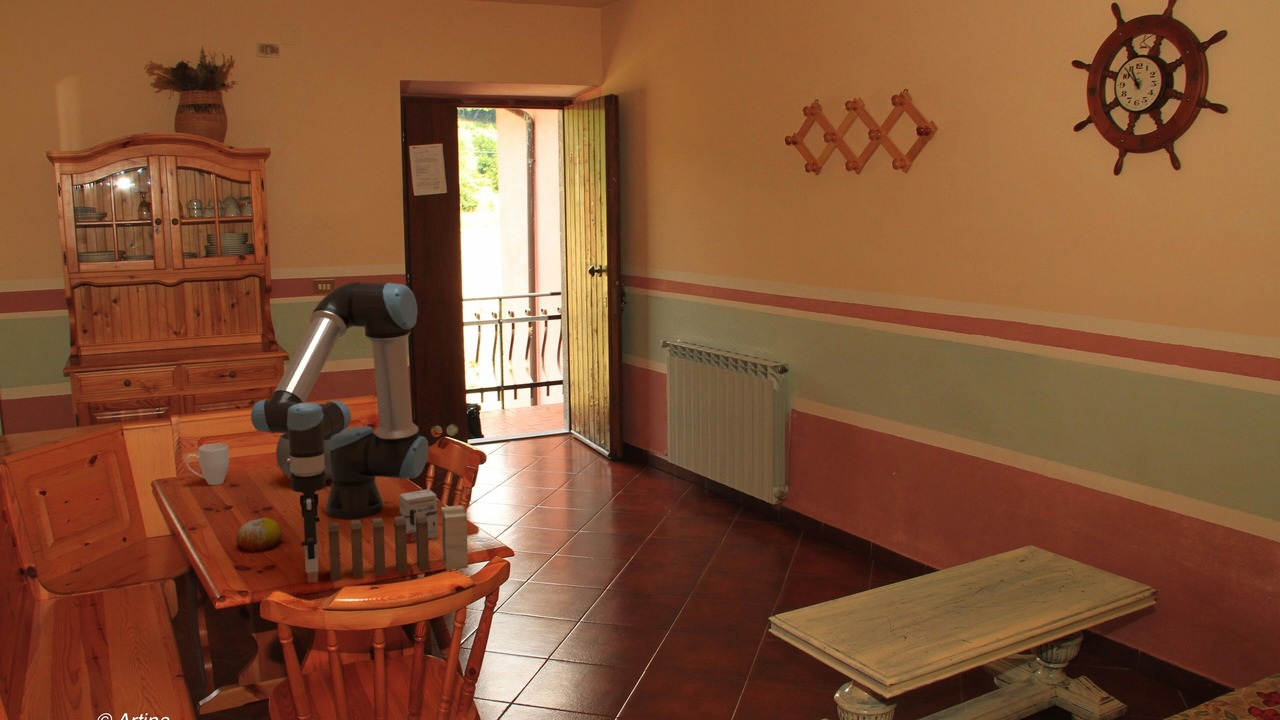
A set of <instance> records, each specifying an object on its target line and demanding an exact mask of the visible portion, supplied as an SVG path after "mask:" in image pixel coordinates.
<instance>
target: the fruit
mask: <svg viewBox="0 0 1280 720" xmlns="http://www.w3.org/2000/svg"><path fill="white" fill-rule="evenodd" d="M282 538H283V533H282V529H281V525H279V523H278V522H277V521H275V520H274V519H273V518H270V517H265V516H264V517H260V518H257V519H251V520H248V521H247V522H246V523H245V524H242V525H241V526H240V528H239V529H238V531H237V532H236V537H235V539H236V542H237V546H239V547H241V548H242V550H243V551H247V552H251V553H252V552H264V551H268V550H271V549H274V548H275V547H277V546H279V545H280V544H281V542H282Z"/></svg>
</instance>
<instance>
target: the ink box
mask: <svg viewBox="0 0 1280 720" xmlns="http://www.w3.org/2000/svg"><path fill="white" fill-rule="evenodd" d="M437 500H438V499H437V494H436V493H435V492H434V491H433V490H431V489H428V488H427V489H423V490H418V491H410V492H405V493H400V494H399V516H404V519H405V522H406V542H410V543H413V542H412V541H415V542H416V515H420V514H425V515H426V519H427V522H428V540H429V538H431V539H435V537H436V538H438V504H437V503H438V501H437Z"/></svg>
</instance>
